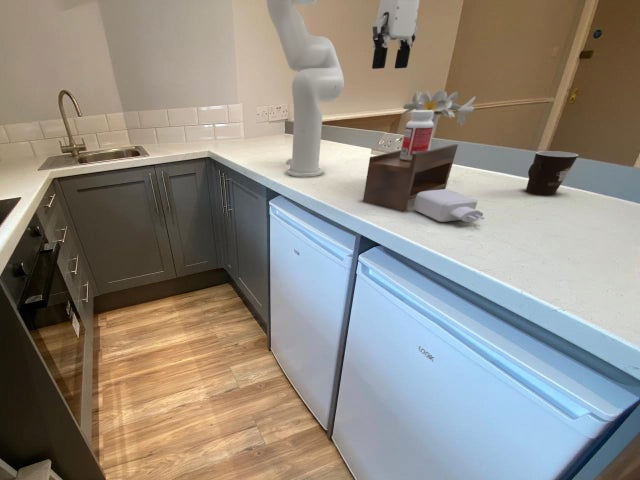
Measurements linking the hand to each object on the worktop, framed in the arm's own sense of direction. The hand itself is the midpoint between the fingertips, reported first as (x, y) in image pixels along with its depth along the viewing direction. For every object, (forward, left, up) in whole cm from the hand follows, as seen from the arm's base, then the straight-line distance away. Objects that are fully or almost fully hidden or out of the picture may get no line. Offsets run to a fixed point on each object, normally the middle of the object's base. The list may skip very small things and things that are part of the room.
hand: (389, 68), depth 84 cm
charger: (+27, -7, -31) cm, 41 cm away
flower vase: (+4, +20, -31) cm, 37 cm away
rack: (+11, 0, -30) cm, 32 cm away
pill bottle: (+11, 0, -20) cm, 23 cm away
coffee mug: (+32, +30, -31) cm, 53 cm away
